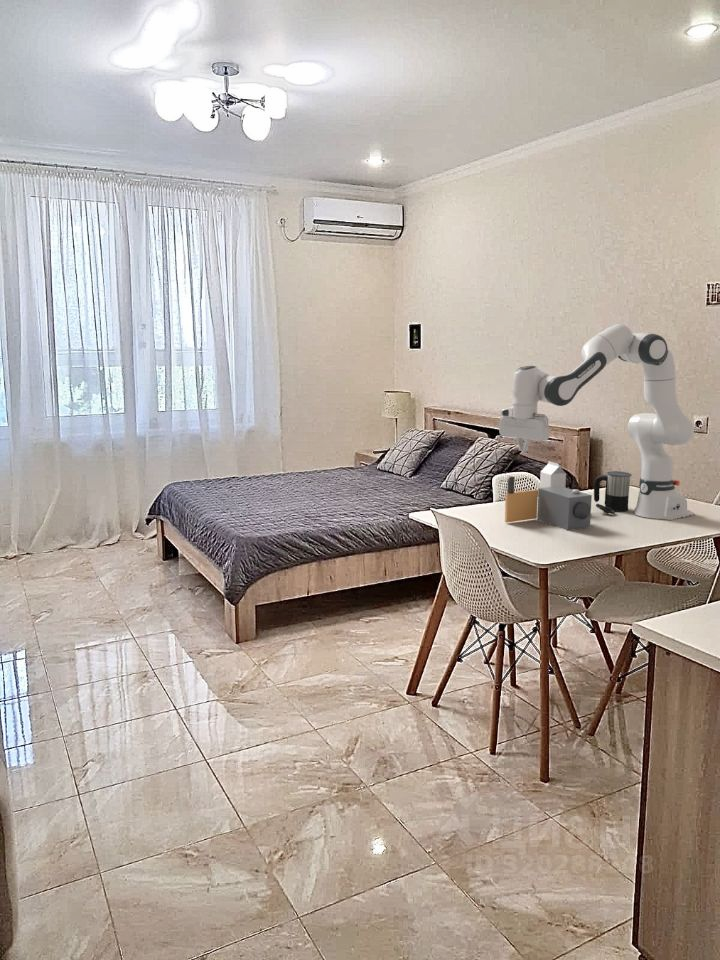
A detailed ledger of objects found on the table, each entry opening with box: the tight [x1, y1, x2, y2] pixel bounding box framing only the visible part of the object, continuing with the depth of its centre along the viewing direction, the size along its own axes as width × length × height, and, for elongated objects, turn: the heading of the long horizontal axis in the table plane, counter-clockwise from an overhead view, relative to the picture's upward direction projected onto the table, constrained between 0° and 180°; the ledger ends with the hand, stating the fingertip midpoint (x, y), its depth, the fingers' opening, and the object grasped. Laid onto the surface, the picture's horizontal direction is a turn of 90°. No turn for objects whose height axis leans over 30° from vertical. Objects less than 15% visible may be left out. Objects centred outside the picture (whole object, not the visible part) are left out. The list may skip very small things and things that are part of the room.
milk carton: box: [539, 460, 567, 488], centre depth 303 cm, size 7×7×19 cm
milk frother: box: [593, 470, 632, 515], centre depth 300 cm, size 14×16×15 cm
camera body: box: [536, 486, 593, 531], centre depth 281 cm, size 10×20×13 cm, turn 23°
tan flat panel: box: [504, 475, 538, 523], centre depth 284 cm, size 2×14×17 cm, turn 116°
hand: (523, 450), depth 273 cm, fingers closed
